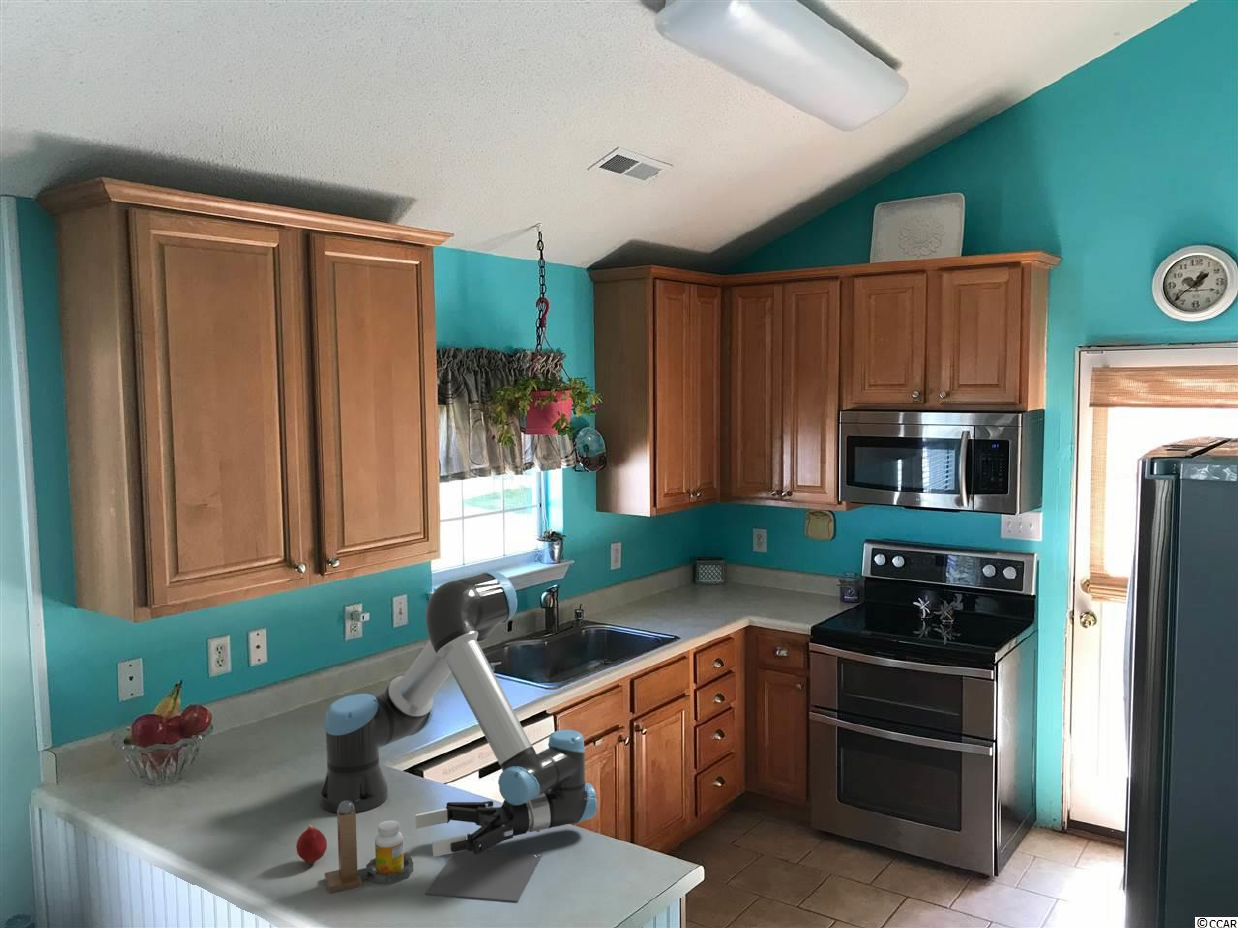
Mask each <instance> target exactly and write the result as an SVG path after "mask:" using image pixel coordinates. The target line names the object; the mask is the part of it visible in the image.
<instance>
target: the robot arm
mask: <svg viewBox="0 0 1238 928" xmlns="http://www.w3.org/2000/svg"><path fill="white" fill-rule="evenodd" d="M517 608H518V599H517V593H516V589H515V587H514V585H513V583H512V582H511V580H510V579H508V577H506V575H504V574H502V573H500V572H496V571H492V572H491V571H490V572H486V571H485V572H483V573H480V574H477V575H474V576H473V575H472V576H469V577H464V578H461V579H455V580H451V581H447V582H445V583H443V584H442V585H440V586H438V587H437V588H436V589H435V591H433V593H432V594H431V596H430V597H429V600H428V602H427V606H426V609H425V610H426V611H425V625H426V632H427V635H428V639H429V640H428V643H426V645H424V648H423V649H422V650H421V652H420V653H419V654H418V656H417V657H416V658H415V660H414V661H413V662H412V664H411V665H410V666H409V668H408V669H407V671H406V672H405V674H402V675H399V676H396V677H395V678H393V679H392V680H391V682H390V683H389V684H388V686H387V687H386V688H385V689H384V691H383V692H382V693H380V694H378V695H375V696H374V695H372V694H370V693H356V694H354V695H352V694H351V695H345V696H344V697H341V698H338V699H337V700H335V701H333V702H332V703H331V704H330V705H329V706H328V707H327V709H326V712H325V724H324V729H325V739H326V774H325V775H324V776H325V777H324V780H323V782H322V783H323V784H322V787H321V790H320V792H319V793H320V795H319V797H320V800H319V801H320V806H321V808H323V809H324V810H326V811H328V812H331V813H336V814H337V809H338V807H339V805H340V803H341V802H343V801H345V800H348V801H351V802H352V803H353V804H354V810H355V812H356V813H360V812H365V811H368V810H371V809H375V808H377V807H379V806H380V805H382V804H383V803H385V802H386V801H387V800H388V797H389V794H388V793H389V791H388V784H387V782H386V779H385V776H384V774H383V773H384V772H383V771H382V768H381V765H380V749H381V748H382V747H384V746H387V745H389V744H392V743H394V742H396V741H399V740H402V739H405V738H407V737H410V736H411V737H412V736H414V735H416V734H418V733H419V732H421V731H422V730H424V729H426V727H427V726H429V724H430V723H431V720H432V718H433V715H434V711H433V709H434V696H435V694H437V692H438V691H439V689H440V688H441V686H442V685H443V684H444V683H445V682H446V681H447V679H448V678H449V676H450V675H451V674H452V675H453V678H454V680H455V681H456V684H457V685H458V687H459V689H460V691H461V692H462V693H461V694H462V695H463V696H464V699H465V701H466V703H467V705H468V706H469V709H470V710H471V712H472V714H473V715H474V717H475V720H476V722H477V723H478V726H479V728H480V729H481V731H482V733H483V735H484V736H485V738H486V741H487V743H488V745H489V747H490V749H491V751H492V752H493V754H494V756H495V758H496V760H497V762H498V765H499V766H500V768H501V770H502V772H501V773H500V775H499V776H498V781H497V783H498V787H499V789H498V791H499V793H500V795H501V797H502V798H503V799H504V800H503V802H502V804H501V806H499V807H494V801H493V800H487V801H480V802H479V801H475V802H474V801H472V802H471V801H462V802H461V801H455V802H454V801H448V802H447V803H446V806H445V808H441V809H436V810H431V811H426V812H420V813H416V814H415V817H414V819H415V820H414V821H415V828H416V829H422V828H426V827H431V826H436V825H441V824H446V823H447V824H449V823H450V821H456V822H457V821H458V822H466V823H474V824H475V825H476V826H480V827H479V828H478V829H476V830H475V831H474V832H472V833H467V834H465V835H464V834H463V835H458V836H454V837H448V838H444V839H439V840H434V841H432V848H431V849H432V856H433V858H436V857H441V856H445V855H449V854H454V852H459V851H463V850H468V851H473V853H474V854H479V853H481V852H483V851H488V849H491V848H492V847H494V846H496V845H498V844H501V843H503V842H504V841H508V840H511V839H513V838H514V837H516V836H521V835H524V834H527V832H529V833H532V832H536V833H540V831H543V830H547V829H552V828H556V827H561V826H566V825H571V824H579V823H580V822H584V821H588V820H591V819H593V818H595V816H596V815H597V814H596V813H597V811H598V800H597V793H596V790H595V788H594V786H593V785H592V784H591V783H588V782H586V778H585V777H586V774H585V773H586V749H585V738H584V736H583V734H582V733H581V732H580V731H576V730H573V729H560V730H556V731H553V732H552V733H551V734H550V736H549V737H548V744H547V746H548V748H547V749H545V750H543V751H541V752H539V753H537V752H536V750H535V748H534V747H533V745H532V743H531V741H530V739H529V737H528V735H527V734H526V731H525V730H524V727H523V726H522V725H521V722H520V720H519V718H518V717H517V715H516V712H515V711H514V709H513V706H512V705H511V703H510V701H509V699H508V697H507V696H506V694H505V692H504V690H503V688H502V686H501V684H500V682H499V680H498V678H497V676H496V675H495V673H494V671H493V669H492V667H491V665H490V663H489V661H488V659H487V658H486V655H485V653H484V651H483V649H482V647H481V646H480V644H479V643H482V642H485V640H486V639H487V638H488V637H489V635H491V633H492V632H493V630H495V628H496V627H497V626H498V625H499V624H501V623H506V622H508V621H509V620H511V619H512V618H513V617H514V616H515V614H516V611H517Z"/></svg>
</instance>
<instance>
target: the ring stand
mask: <svg viewBox="0 0 1238 928" xmlns="http://www.w3.org/2000/svg"><path fill="white" fill-rule="evenodd" d="M356 813H357V812H355V810H354V804H353V803H352V802H351V801H348V800H345V801H343V802H341V803H340V805H339V807H338V809H337V813H336V818H337V819H336V820H337V821H336V822H337V847H338V848H337V849H338V850H337V853H338V869H336V870H332V871H327V872H324V880H325V884H326V886H327V891H328V892H329V894H332V893H336V892H340V891H344V890H350V889H354V888H358V887H362V886H363V882H362V881H363V880H369V881H371V882H372V883H374V884H385V885H387V884H388V885H389V884H393V883H399V882H401V881H403V880H405V879H408V878H409V877H410V876H411V875H412V873H413V872H414V862H413V859H412V857H410V856H409V855H406V854H404V869H402V870H400V871H398V872H394V873H388V874H384V873H377V872H376V857H375V858H372V859H370V861H369V862H368V863H367V864H366V865H365V867H364V868H360V869H358V850H357V849H358V847H357V844H358V842H357V819H356V817H357V816H356V815H357V814H356Z"/></svg>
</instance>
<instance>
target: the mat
mask: <svg viewBox="0 0 1238 928" xmlns="http://www.w3.org/2000/svg"><path fill="white" fill-rule="evenodd" d="M534 855H536V856H537V857H535V856H534ZM538 855H539V854H537V853H536V854H534V853H521V852H510V851H509V852H507V851H496V850H495V851H494V850H485V851H483V852H481V853H479V854H474V853H473V851H468V850H463V851H459V852H454V853H452V855H451V856H450V858H449V859H448V861H447V862H446V863H445V865H444V866H443V867H442V869H441V870H440V872H439V873H438V875H437V876H436V877H435V879H434V880H433V881H432V883H431V884H430V885H429V887H428V888H427V889H426V891H425V894H424V895H426V896H437V897H439V896H441V897H452V898H461V899H463V898H464V899H473V898H474V900H475V899H476V900H484V901H485V900H486V901H497V902H500V901H501V902H509V903H518V902H519V901H520V898H521V897H522V895H523V893H524V892H525V889H526V887H527V885H528V883H529V881H530V879H531V878H532V876H533V874H534V873H535V870H536V868H537V866H538V865H537V864H539V863H538V861H539V860H540V861H541V859H540V858H542V857H543V855H542V854H540V855H541V856H542V857H541V856H538ZM540 861H539V862H540ZM535 867H536V868H535Z"/></svg>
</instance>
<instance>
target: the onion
mask: <svg viewBox="0 0 1238 928" xmlns="http://www.w3.org/2000/svg"><path fill="white" fill-rule="evenodd" d="M295 845H296V847H295V848H296V853H297V855H298V857H300V859H302V860H303V861H305V862H306V863H307V864H309V865H313V864H314V863H316V862H318V861H319V860H320V859H322V857H323V856H324V855H325V853H326V852H327V847H328V841H327V838H326V836H325V834H323V832H321V830H319V829H317V828H316V827H314V826H313V825H311V824H308V825H307V828H306V829H305V830H304V831H303V832H302V833H301V834H300V836H299V837H298V839H297V841H296V844H295Z"/></svg>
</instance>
